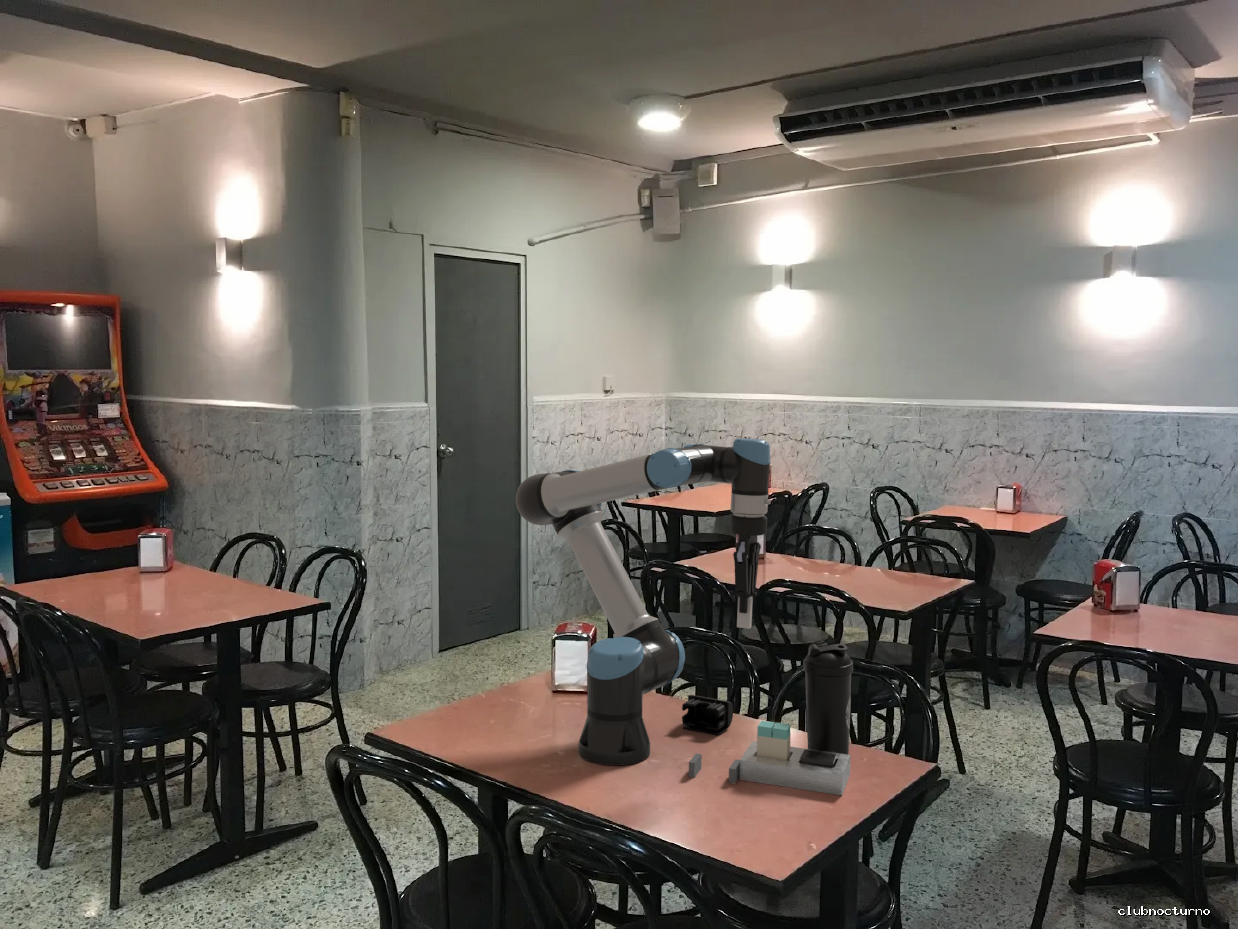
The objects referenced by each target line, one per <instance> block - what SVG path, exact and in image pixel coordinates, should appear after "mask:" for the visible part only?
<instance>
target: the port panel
mask: <svg viewBox="0 0 1238 929" xmlns="http://www.w3.org/2000/svg"><path fill="white" fill-rule="evenodd" d="M851 758H852V757H851V754H848V755H847V754H840V753H833V752H826V751H819V750H812V749H808V748H803V747H798V746H796V747H795V746H790V759H789V761H784V760H777V759H770V758H763V757H757V741H754V740H753V741H751V742H750V744H749V746H748V747H747V749H746V750H745V751H744V753H743V755H742V756H741V758H740V759H739V760H740V773H739V778H738V780H741V781H747V782H754V783H757V784H758V783H760V784H767V785H773V786H779V787H785V788H792V789H799V790H804V791H805V790H806V791H810V792H817V793H823V794H829V795H837V796H843V794H844V792H845V790H846V788H847V787H846V786H847V783H848V781H849V778H850V775H851Z"/></svg>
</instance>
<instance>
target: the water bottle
mask: <svg viewBox="0 0 1238 929" xmlns="http://www.w3.org/2000/svg"><path fill="white" fill-rule="evenodd" d="M847 652H848V647H847V645H846V644H843V643H834V644H829V645H823V646H818V645H817V644H816V643H812V644H809V646H808V652H807V655H806V656H805V658H804V659H803V667H802V668H803V671H804V672H805V674H804V675H805V702H806V729H807V730H806V733H807V737H806V738H807V749H812V750H819V751H826V752H833V753H840V754H847V755H850V754H849V751H850V749H849V748H850V729H851V728H850V726H851V725H850V724H851V698H852V697H851V690H852V688H851V687H852V674H853V671H854V662H853V660H852V659H851V657H850V655H849V654H847Z"/></svg>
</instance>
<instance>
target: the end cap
mask: <svg viewBox="0 0 1238 929" xmlns="http://www.w3.org/2000/svg"><path fill="white" fill-rule="evenodd" d="M681 709H682V711H683V712H684V711H686V710H687V712H686V713H685V714H684V715H682V717H681V722H682V724H683V726H682V729H683V730H686V731H689V732H690V731H691V732H695V733H699V734H706V735H711V736H715V737H720V736H721V735H723V734H724V733H726V731H727V730H728V728H730V726H731V724H732V722H733V719H734V718H733V717H734V707H733V703H732V702H731V701H727V700H722V699H717V698H711V697H705V696H702V695H701V696H700V695H695V694H688V696H687V700H686V702H683V704H682V707H681Z"/></svg>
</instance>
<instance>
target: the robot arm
mask: <svg viewBox="0 0 1238 929" xmlns="http://www.w3.org/2000/svg"><path fill="white" fill-rule="evenodd" d="M770 466H771V446H770V442H769V441H767V440H765V439H763V438H747V437H746V438H744V437H741V438H735V439H734V440H733V444H732V446H719V445H718V446H717V445H707V444H704V443H702V444H701V443H698V444H697V443H696V444H691V443H690V444H685V446H683V447H678V448H674V447H669V448H663V449H661V450H658V451H655V452H654V453H649V454H645V455H641V456H637V457H634V458H629V459H624V460H621V461H617V462H613V463H608V464H605V465H604V464H603V465H601V466H596V467H593V468H589V469H585V470H572V469H569V470H568V469H567V470H562V471H557V472H547V473H537V474H534V475H531V476H528V477H527V478H525V479H524V480H523V481H522V482H521V483H520V485H518V486H519V487H518V489H516V490H517V491H516V493H515V504H516V510H517V511H518V513H519V514H520V516H521V517H522V518H523V520H525V521H527V522H528V523H531V524H533V525H535V526H536V525H537V526H549V525H552V527H553V529H554V531H555V533H556V535H557V536H558V537H559V539H560V538H561V539H564V540H566V541H567V542H568V544H569V547H570V548H571V550H572V551H573V554H574V555H575V558H576V559H577V560H576V561H577V562H578V564H579V565H580V567H581V569H582V572H583V573H584V576H585V577H586V579H587V582H588V583H589V585H590V587H591V589H592V591H593V593H594V595H595V597H596V598H597V601H598V603H599V605H600V607H601V608H602V611H603V613H604V614H605V616H606V619H607V620H608V621H607V622H609V624H610V627H611V629H612V630H613V633H614V634H613V638H610V637H606V638H604V639H601V640H598V641H597V642H595V643H594V644H593V645H592V646H591V647H590V648H589V649H588V655H587V662H586V672H587V674H586V675H587V676H586V678H587V681H586V682H587V683H586V684H587V686H586V687H587V690H586V692H587V698H586V699H587V700H586V701H587V702H586V705H587V709H586V713H587V714H586V719H585V722H584V725H583V728H582V730H581V734H580V736H579V739H578V755H579V756H580V757H581V758H582V759H584V760H585V761H587V762H590V763H594V764H598V765H606V766H624V765H632V764H636V763H640V762H642V761H644V760H646V759H647V758H649V756H650V755H651V740H650V737H649V733H648V731H647V728H646V724H645V722H644V718H643V697H644V696H643V695H646V694H648V693H650V692H652V691H655V690H656V689H658V688H662V687H666V686H667V685H669V684H670V683H671V682H672V681H674V680H675V679H677V678H678V677H679V676H680V674H681V673H682V671H683V669H684V666H685V665H684V664H685V662H686V653H685V648H684V645H683V642H682V641H681V640H680V638H679V636H678V635H676V633H674V632H671V631H670V630H668V629H664V628H663V626H662V625H663V624H662V623H661V622H660V620H659V618H657V617H654V616H652V615H650V614H649V613H648V612H647V610H646V608H645V605H644V604H643V602H642V600H641V598H640V596H639V594H638V592H637V591H636V588H635V587H634V585H633V583H632V581H631V579H630V577H629V574H628V573H627V570H626V569H625V567H624V566H623V563H622V561H621V559H620V557H619V555H618V554H617V551H616V549H615V548H614V545H613V544H612V542H611V539H610V538H609V536H608V534H607V533H606V531H605V529H604V527H603V525H602V519H603V516H604V512H603V511H602V509H601V508H602V503H603V504H604V503H607V502H611V501H616V500H620V499H624V498H630V497H634V496H639V495H643V494H648V493H652V492H657V491H663V490H667V489H671V488H677V487H681V486H686V485H694V484H699V483H707V482H709V483H723V484H731V493H730V512H731V513H732V514H731V515H730V519H729V532H731V533H732V534H735V535H738V539H737V540H738V541H737V542H736V543H735V551H734V552H733V554H732V555H733V561H734V562H733V563H734V587H735V588H734V590H735V591H734V593H733V596H734V597H737V614H736V615H737V616H736V617H737V618H736V628H740V629H747V630H750V629H752V622H753V619H752V618H753V600H754V598H753V597H756V596H758V592H756V589H757V579H758V578H757V577H758V570H759V569H758V568H759V560H760V554H761V548H762V545H761V543H760V542H759V541H758V536H764V535H766V534H767V532H768V517H767V515H766V514H767V513H768V508H769V507H768V506H769V505H770V504H771V500H770V499H768V498H769V486H770V484H769V483H770V469H771V467H770Z"/></svg>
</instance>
